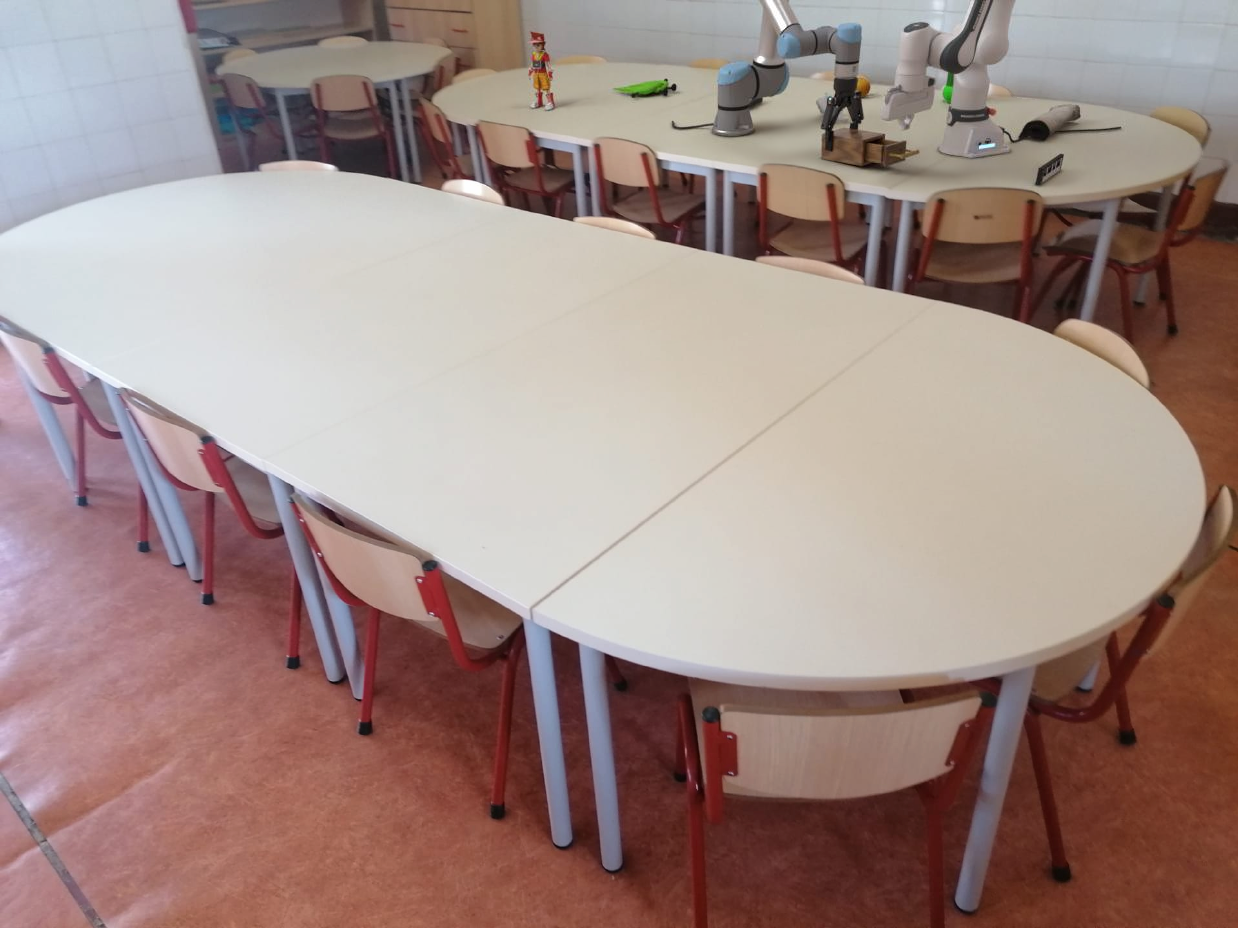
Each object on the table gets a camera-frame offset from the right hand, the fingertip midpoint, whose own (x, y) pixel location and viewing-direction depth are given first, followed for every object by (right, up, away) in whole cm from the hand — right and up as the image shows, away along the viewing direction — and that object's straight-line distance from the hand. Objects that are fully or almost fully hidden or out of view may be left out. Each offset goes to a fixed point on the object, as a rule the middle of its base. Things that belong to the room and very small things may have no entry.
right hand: (904, 130), depth 278 cm
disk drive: (-37, +43, +89) cm, 106 cm away
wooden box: (-11, -2, +21) cm, 24 cm away
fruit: (+10, +48, +92) cm, 104 cm away
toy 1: (-121, +49, +105) cm, 168 cm away
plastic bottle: (+44, +40, +77) cm, 97 cm away
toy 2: (-79, +61, +119) cm, 155 cm away
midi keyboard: (+43, -16, -3) cm, 46 cm away
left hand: (-14, +3, +23) cm, 27 cm away
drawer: (-4, -6, +11) cm, 13 cm away
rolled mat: (+63, +14, +38) cm, 75 cm away
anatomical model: (-8, +29, +65) cm, 72 cm away
